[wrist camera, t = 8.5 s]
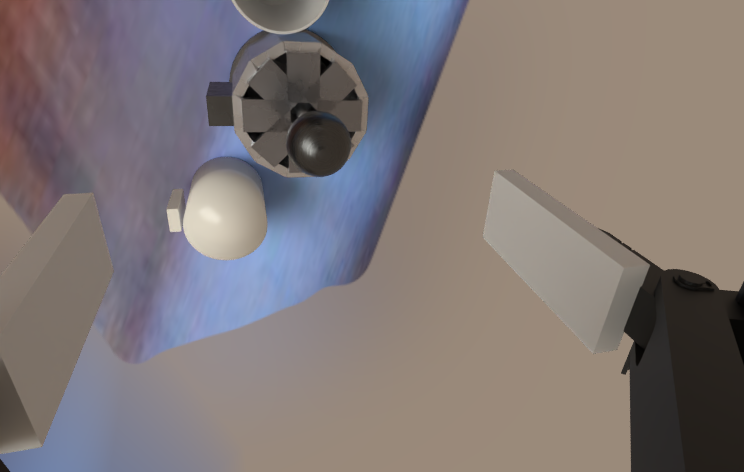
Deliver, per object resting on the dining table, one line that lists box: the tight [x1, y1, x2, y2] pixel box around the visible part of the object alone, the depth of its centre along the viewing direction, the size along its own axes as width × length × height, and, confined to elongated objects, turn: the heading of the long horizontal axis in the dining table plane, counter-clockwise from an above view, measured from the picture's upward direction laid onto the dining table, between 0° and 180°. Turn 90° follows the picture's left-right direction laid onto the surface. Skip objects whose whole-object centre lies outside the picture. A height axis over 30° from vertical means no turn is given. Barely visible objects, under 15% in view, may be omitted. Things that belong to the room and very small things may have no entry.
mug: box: [167, 157, 267, 260], centre depth 48 cm, size 8×9×9 cm
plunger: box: [247, 53, 351, 177], centre depth 38 cm, size 9×9×20 cm
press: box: [206, 29, 368, 177], centre depth 43 cm, size 12×14×12 cm
